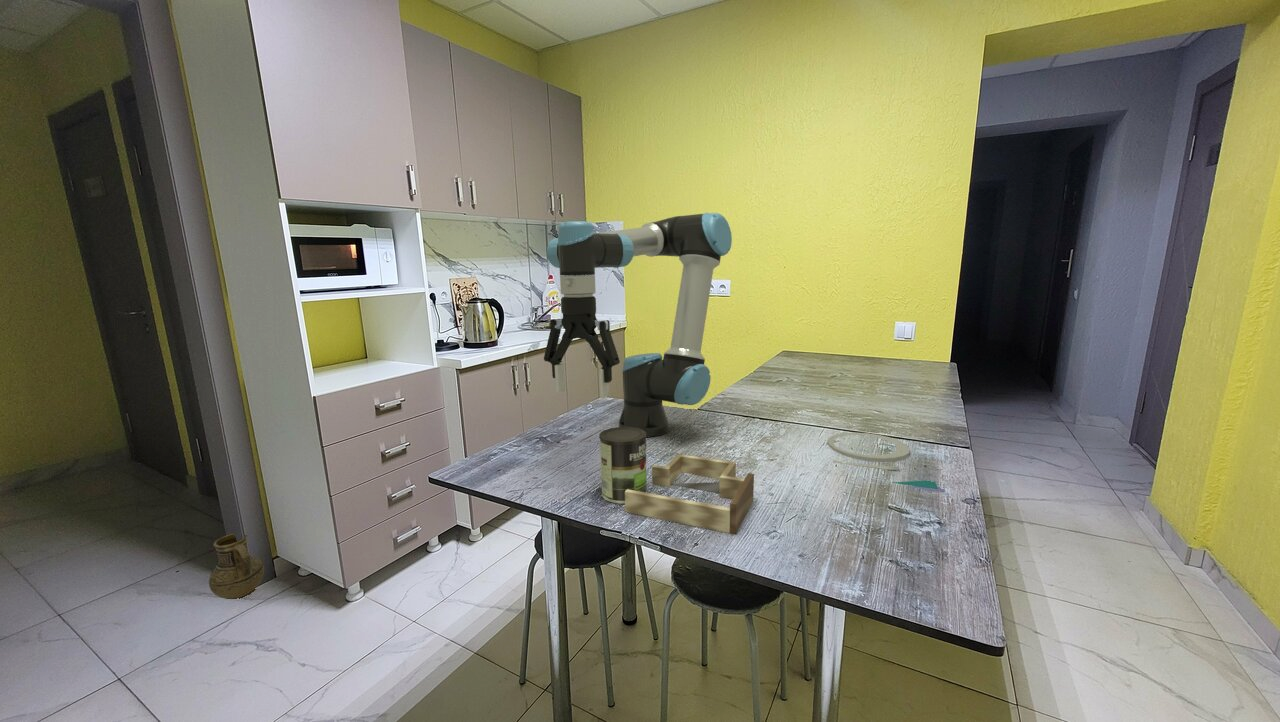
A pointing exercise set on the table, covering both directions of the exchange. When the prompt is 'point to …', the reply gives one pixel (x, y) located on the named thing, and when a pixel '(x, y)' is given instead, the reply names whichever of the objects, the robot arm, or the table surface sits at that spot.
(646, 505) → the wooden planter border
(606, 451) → the coffee can
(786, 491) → the table surface
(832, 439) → the place mat
